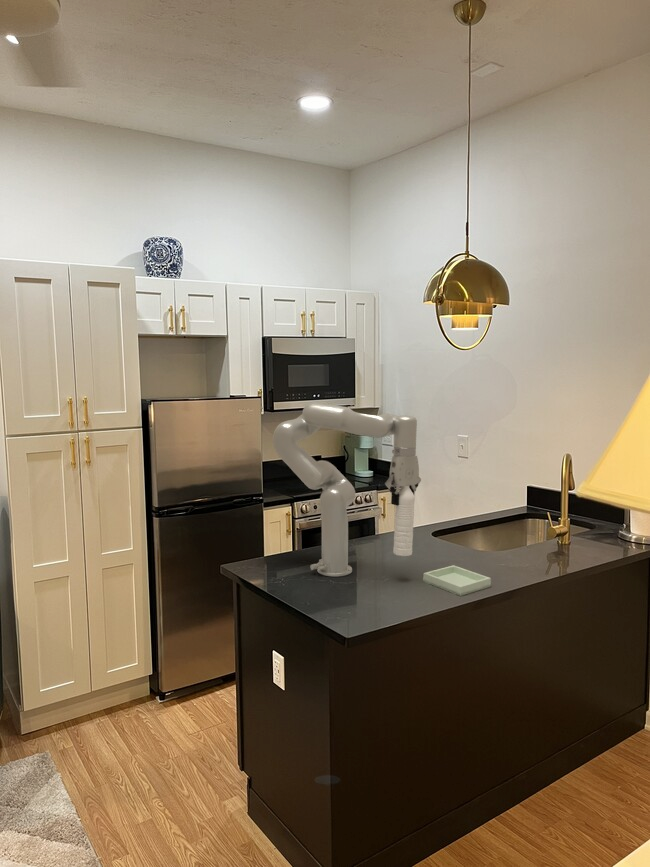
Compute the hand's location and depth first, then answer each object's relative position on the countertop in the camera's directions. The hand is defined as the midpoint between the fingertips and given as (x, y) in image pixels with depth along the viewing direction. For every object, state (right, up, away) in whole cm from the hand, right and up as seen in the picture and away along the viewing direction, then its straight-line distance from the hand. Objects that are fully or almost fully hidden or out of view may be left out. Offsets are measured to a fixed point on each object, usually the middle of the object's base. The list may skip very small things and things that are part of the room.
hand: (402, 503), depth 224 cm
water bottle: (0, -18, +2) cm, 18 cm away
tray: (+18, -28, -1) cm, 33 cm away
